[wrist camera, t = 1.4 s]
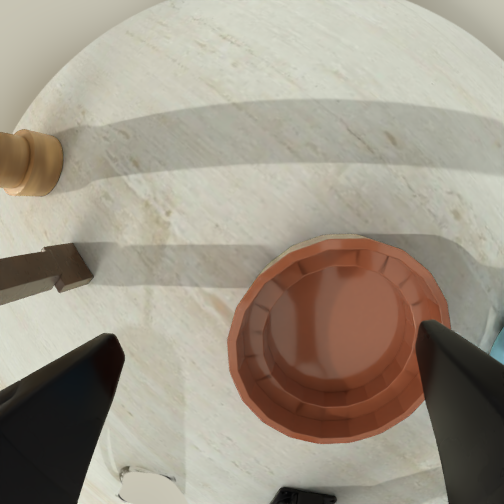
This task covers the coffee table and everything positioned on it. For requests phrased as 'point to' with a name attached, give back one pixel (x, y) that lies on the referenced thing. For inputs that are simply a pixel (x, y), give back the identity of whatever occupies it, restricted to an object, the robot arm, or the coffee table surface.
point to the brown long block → (42, 272)
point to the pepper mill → (29, 163)
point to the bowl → (334, 338)
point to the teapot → (498, 348)
